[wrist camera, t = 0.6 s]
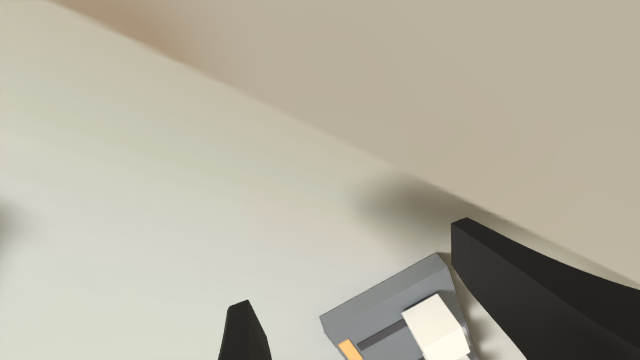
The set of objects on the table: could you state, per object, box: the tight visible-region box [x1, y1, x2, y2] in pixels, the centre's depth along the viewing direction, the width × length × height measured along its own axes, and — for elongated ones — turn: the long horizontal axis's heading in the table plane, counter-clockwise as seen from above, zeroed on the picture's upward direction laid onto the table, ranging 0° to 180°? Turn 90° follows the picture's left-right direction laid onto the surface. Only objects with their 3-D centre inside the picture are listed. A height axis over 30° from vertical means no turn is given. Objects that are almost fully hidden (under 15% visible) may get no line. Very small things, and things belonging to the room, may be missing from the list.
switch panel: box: [320, 253, 478, 360], centre depth 32 cm, size 20×10×2 cm, turn 24°
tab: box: [401, 294, 470, 360], centre depth 27 cm, size 4×3×3 cm
